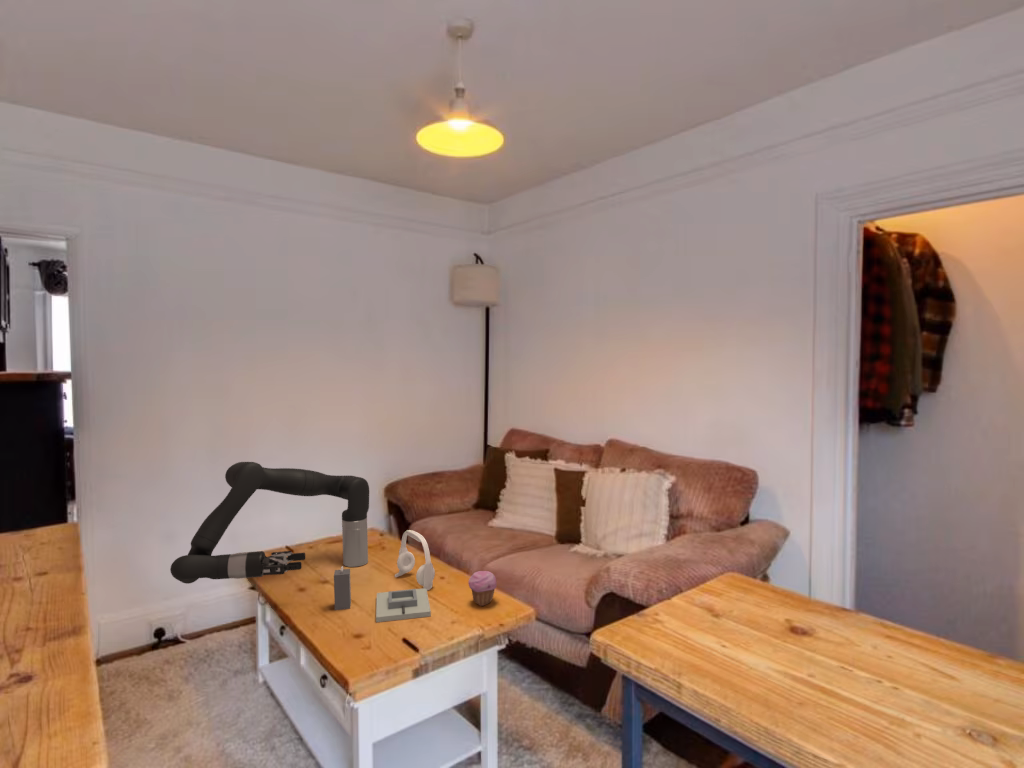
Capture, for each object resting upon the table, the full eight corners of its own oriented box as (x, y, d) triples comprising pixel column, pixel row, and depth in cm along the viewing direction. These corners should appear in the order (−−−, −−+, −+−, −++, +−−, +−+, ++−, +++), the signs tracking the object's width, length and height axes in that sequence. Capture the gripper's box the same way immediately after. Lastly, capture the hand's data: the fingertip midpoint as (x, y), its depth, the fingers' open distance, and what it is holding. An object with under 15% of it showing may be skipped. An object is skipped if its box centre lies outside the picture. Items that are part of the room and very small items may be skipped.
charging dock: (376, 597, 185) (376, 587, 185) (426, 592, 189) (426, 582, 189) (376, 622, 168) (375, 610, 168) (430, 616, 171) (430, 604, 171)
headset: (438, 589, 191) (437, 537, 191) (419, 595, 187) (418, 541, 186) (411, 572, 207) (410, 523, 207) (393, 576, 203) (392, 527, 202)
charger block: (335, 604, 181) (334, 565, 180) (350, 602, 182) (349, 564, 181) (334, 610, 176) (333, 571, 176) (350, 608, 177) (349, 569, 177)
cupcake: (464, 601, 181) (463, 570, 181) (486, 594, 187) (486, 564, 186) (479, 611, 174) (478, 579, 174) (502, 603, 179) (501, 572, 179)
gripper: (240, 560, 165) (299, 556, 169) (252, 545, 179) (306, 541, 183) (241, 586, 165) (300, 581, 169) (252, 569, 179) (306, 564, 183)
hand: (303, 560), depth 176 cm, fingers open, 8 cm apart
